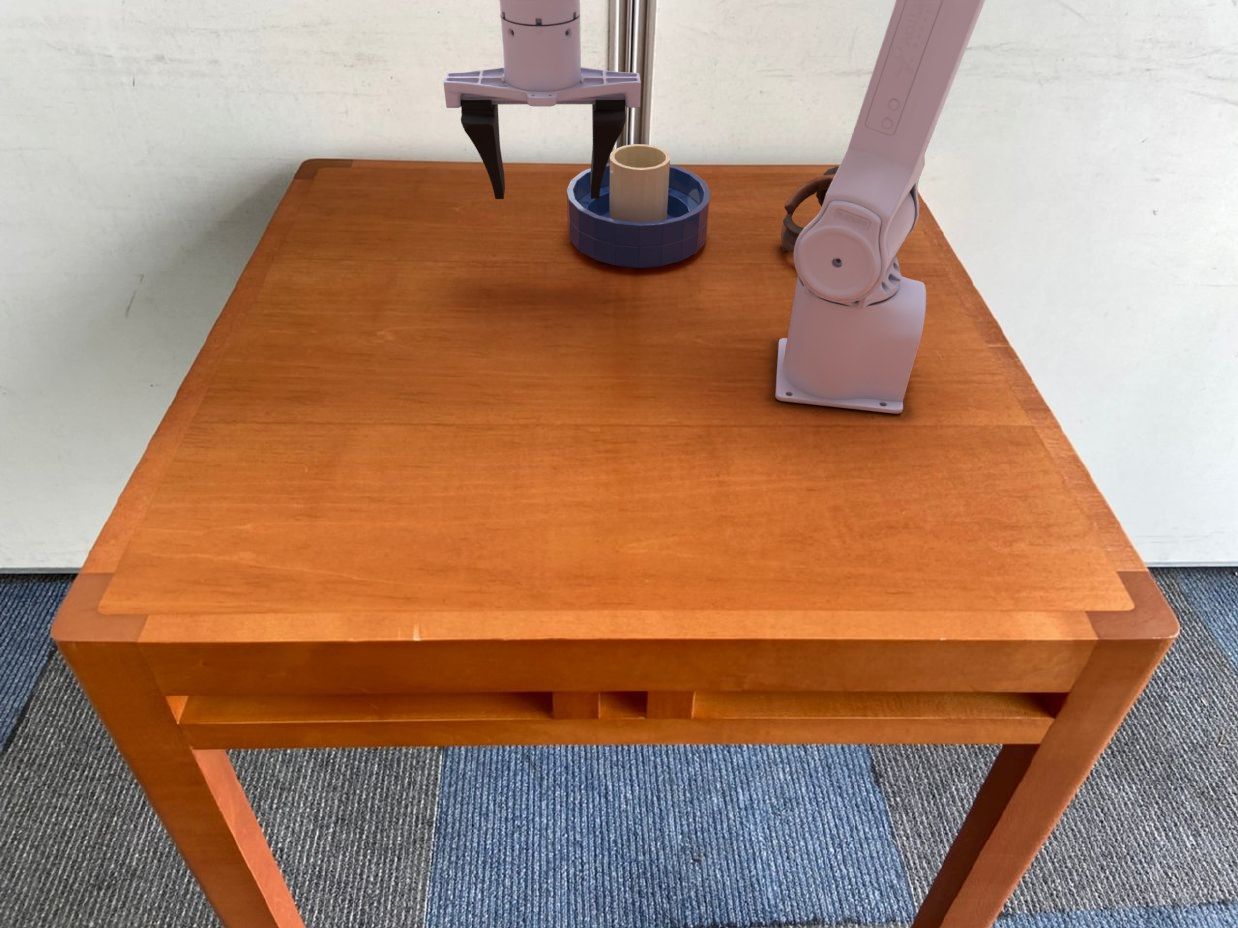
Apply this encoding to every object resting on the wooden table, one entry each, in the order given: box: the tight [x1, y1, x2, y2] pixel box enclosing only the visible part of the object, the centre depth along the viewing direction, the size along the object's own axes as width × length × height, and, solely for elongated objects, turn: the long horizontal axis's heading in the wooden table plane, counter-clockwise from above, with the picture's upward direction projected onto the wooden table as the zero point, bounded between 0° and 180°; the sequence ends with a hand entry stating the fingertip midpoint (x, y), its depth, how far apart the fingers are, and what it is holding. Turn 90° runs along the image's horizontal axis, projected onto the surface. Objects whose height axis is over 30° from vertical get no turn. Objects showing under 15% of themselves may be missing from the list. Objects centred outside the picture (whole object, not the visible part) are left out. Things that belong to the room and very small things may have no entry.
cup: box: [609, 143, 671, 222], centre depth 84 cm, size 5×5×8 cm
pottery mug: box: [780, 166, 839, 253], centre depth 85 cm, size 12×10×8 cm
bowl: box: [566, 162, 712, 269], centre depth 85 cm, size 13×13×5 cm
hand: (547, 193), depth 73 cm, fingers open, 7 cm apart
